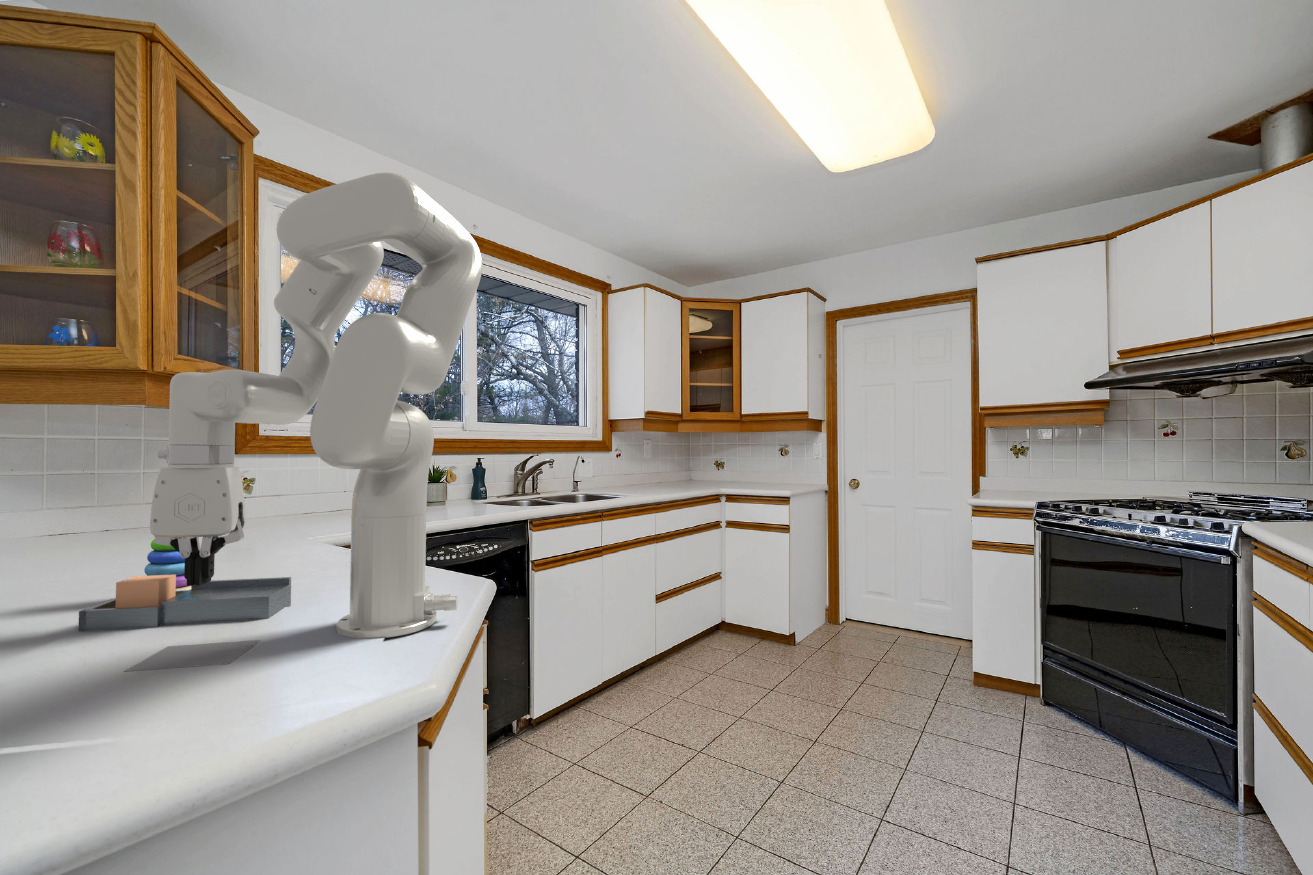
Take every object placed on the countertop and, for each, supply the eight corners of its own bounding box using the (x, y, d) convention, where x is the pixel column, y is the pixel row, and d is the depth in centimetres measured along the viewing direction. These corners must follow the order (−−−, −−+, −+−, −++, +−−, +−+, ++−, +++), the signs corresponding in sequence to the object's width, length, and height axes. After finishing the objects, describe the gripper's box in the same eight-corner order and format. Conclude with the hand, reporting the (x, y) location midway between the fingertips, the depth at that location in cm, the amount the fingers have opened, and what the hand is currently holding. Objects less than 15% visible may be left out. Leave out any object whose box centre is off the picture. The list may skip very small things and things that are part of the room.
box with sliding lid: (292, 604, 88) (293, 575, 88) (266, 622, 79) (266, 590, 79) (127, 613, 83) (128, 583, 83) (78, 634, 73) (79, 600, 74)
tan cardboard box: (175, 574, 82) (135, 576, 81) (158, 580, 78) (116, 582, 77) (175, 608, 82) (134, 610, 81) (157, 616, 78) (115, 618, 77)
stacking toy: (165, 605, 87) (168, 485, 88) (125, 602, 89) (128, 484, 89) (214, 592, 95) (217, 483, 95) (176, 589, 97) (179, 482, 97)
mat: (261, 642, 71) (261, 639, 71) (229, 666, 63) (229, 663, 63) (168, 649, 68) (168, 646, 68) (123, 675, 60) (123, 671, 60)
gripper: (123, 458, 76) (119, 592, 76) (248, 458, 80) (245, 586, 79) (157, 457, 83) (154, 580, 83) (271, 457, 87) (268, 575, 86)
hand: (199, 583), depth 81 cm, fingers closed
